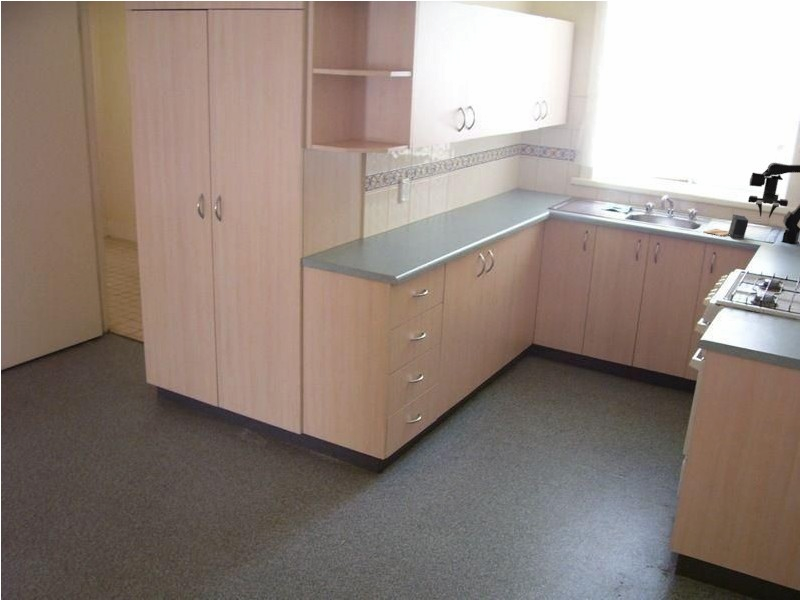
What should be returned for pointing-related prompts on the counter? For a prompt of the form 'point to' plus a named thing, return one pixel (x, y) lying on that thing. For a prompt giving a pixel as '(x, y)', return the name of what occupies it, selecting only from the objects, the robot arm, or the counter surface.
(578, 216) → the counter surface
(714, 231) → the cork mat
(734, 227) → the small box
